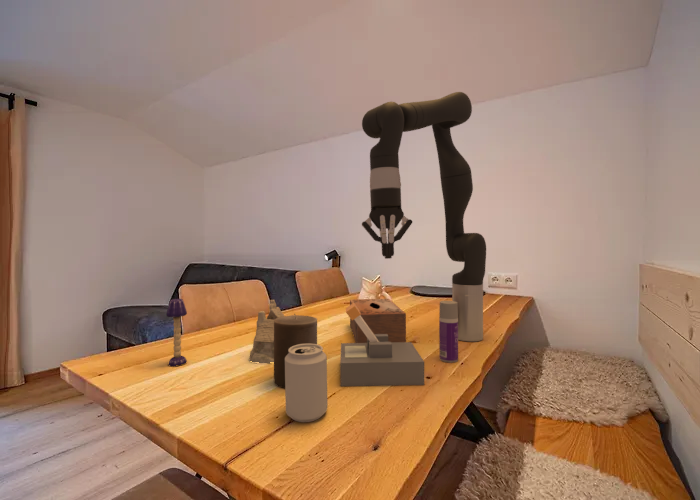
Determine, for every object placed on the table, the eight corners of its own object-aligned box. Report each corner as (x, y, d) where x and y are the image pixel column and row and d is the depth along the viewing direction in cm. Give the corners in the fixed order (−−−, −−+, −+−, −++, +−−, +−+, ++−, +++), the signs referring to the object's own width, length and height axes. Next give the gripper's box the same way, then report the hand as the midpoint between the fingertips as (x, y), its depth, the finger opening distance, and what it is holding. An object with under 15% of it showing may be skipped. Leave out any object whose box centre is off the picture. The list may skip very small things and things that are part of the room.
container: (459, 363, 84) (459, 304, 83) (440, 362, 85) (439, 303, 84) (457, 356, 88) (456, 300, 88) (438, 355, 89) (438, 300, 89)
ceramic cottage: (239, 360, 87) (243, 303, 87) (274, 344, 102) (277, 296, 102) (292, 372, 82) (296, 311, 82) (320, 353, 97) (323, 302, 97)
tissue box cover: (406, 347, 98) (405, 313, 98) (357, 348, 97) (357, 314, 97) (388, 325, 124) (388, 298, 123) (350, 326, 123) (349, 299, 122)
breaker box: (341, 362, 85) (340, 331, 85) (411, 361, 85) (411, 330, 85) (340, 386, 71) (340, 349, 71) (424, 384, 71) (424, 347, 71)
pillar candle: (280, 392, 68) (280, 320, 68) (269, 376, 77) (269, 311, 77) (324, 383, 73) (324, 315, 73) (308, 368, 82) (308, 307, 81)
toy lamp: (192, 362, 87) (190, 298, 86) (176, 368, 82) (174, 301, 82) (179, 359, 89) (177, 297, 88) (163, 365, 84) (161, 300, 84)
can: (287, 404, 63) (286, 342, 63) (327, 402, 64) (326, 340, 64) (283, 426, 56) (282, 355, 56) (327, 423, 57) (326, 353, 56)
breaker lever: (375, 350, 80) (345, 308, 80) (383, 344, 80) (353, 302, 80) (377, 356, 76) (345, 312, 76) (386, 350, 76) (354, 306, 76)
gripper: (408, 189, 86) (411, 256, 87) (357, 191, 86) (360, 258, 87) (415, 185, 79) (417, 258, 79) (359, 187, 78) (362, 260, 79)
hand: (387, 258), depth 83 cm, fingers closed
